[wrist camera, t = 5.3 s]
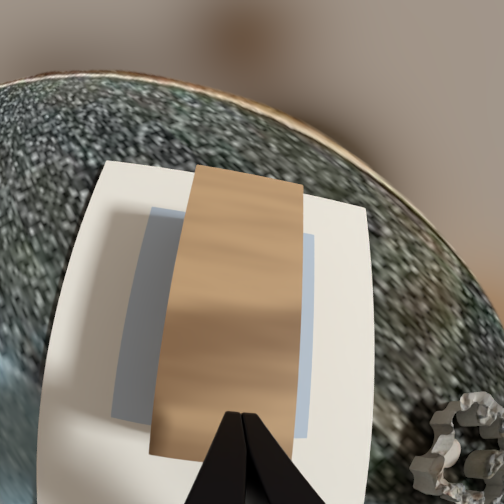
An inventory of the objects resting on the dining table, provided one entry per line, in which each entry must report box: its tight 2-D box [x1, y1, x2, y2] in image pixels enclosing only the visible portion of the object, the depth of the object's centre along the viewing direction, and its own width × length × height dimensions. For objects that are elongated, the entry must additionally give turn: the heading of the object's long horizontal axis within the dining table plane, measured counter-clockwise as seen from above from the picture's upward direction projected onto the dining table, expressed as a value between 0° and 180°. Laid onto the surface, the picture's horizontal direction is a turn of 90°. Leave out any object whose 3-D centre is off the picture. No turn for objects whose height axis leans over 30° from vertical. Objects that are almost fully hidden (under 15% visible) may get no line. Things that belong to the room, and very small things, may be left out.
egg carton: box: [409, 392, 504, 504], centre depth 14 cm, size 11×8×4 cm
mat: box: [37, 161, 374, 504], centre depth 15 cm, size 24×18×1 cm
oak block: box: [149, 165, 303, 462], centre depth 14 cm, size 5×5×12 cm
